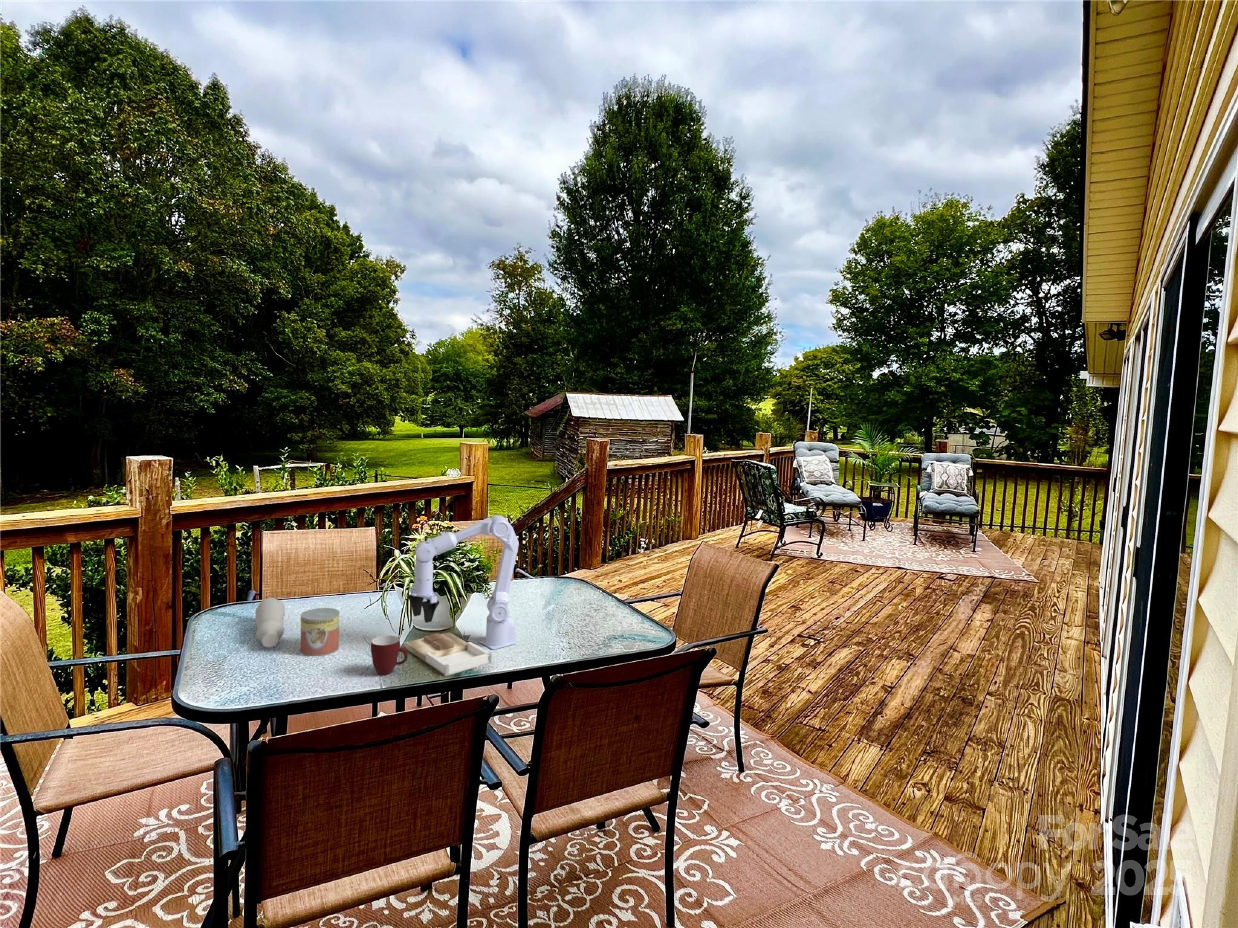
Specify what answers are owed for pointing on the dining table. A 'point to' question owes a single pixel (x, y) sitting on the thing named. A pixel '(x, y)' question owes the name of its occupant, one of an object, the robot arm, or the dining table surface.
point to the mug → (386, 653)
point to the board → (422, 647)
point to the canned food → (319, 632)
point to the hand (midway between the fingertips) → (422, 618)
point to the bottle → (270, 621)
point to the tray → (460, 660)
